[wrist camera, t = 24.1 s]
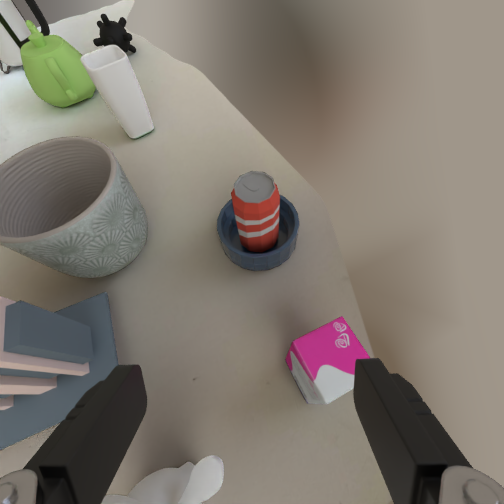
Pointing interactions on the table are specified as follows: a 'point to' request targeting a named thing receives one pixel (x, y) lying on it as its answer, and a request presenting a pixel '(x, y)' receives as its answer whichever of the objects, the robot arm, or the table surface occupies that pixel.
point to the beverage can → (256, 210)
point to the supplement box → (325, 361)
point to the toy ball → (114, 34)
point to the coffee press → (16, 31)
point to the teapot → (55, 69)
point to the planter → (71, 207)
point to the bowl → (259, 259)
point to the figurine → (176, 485)
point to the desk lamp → (50, 362)
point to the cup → (119, 88)
